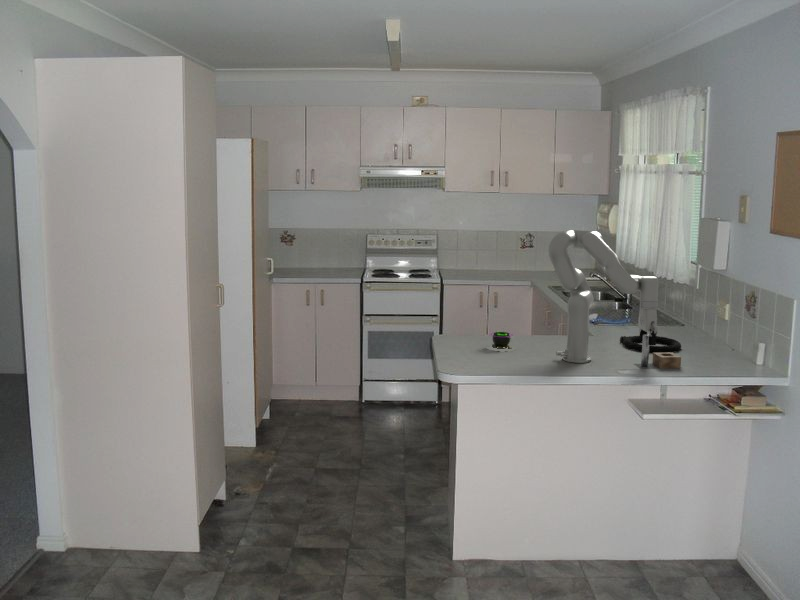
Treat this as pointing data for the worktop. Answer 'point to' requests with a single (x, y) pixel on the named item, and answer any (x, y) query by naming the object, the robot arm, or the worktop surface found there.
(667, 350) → the cable lock
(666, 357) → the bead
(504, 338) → the toy cauldron
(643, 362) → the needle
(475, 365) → the worktop surface
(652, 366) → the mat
